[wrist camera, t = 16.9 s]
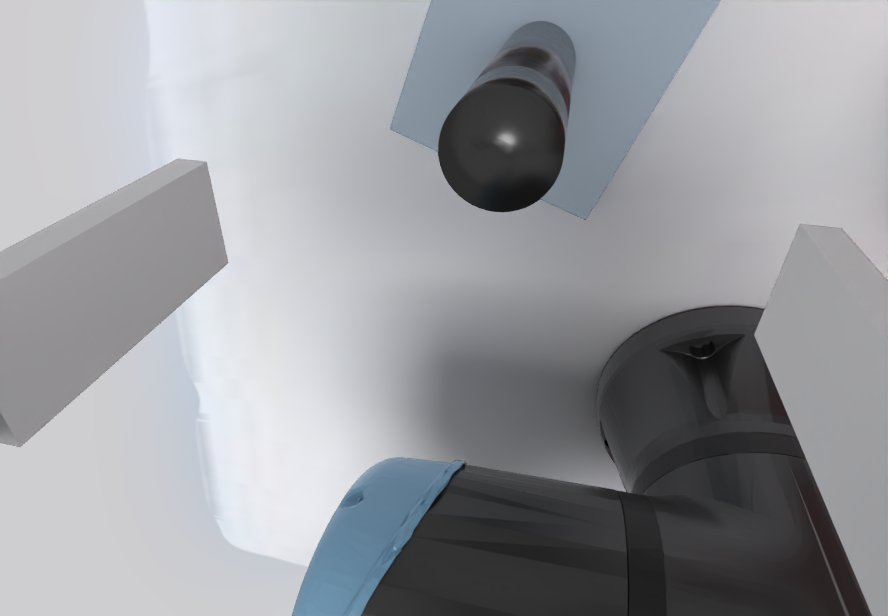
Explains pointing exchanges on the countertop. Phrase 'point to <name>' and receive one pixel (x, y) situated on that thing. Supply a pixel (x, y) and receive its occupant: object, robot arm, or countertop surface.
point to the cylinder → (512, 122)
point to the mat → (595, 78)
